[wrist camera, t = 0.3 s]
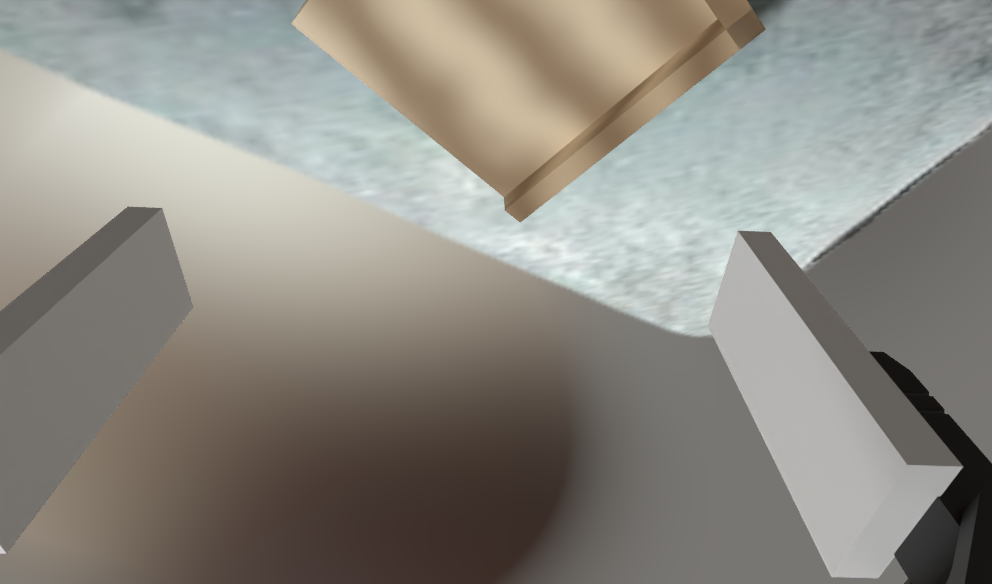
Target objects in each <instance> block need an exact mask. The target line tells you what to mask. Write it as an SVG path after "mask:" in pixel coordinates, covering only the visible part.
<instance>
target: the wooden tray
mask: <svg viewBox="0 0 992 584" xmlns="http://www.w3.org/2000/svg"><path fill="white" fill-rule="evenodd" d="M292 25H293V26H295V27H296V28H297V29H298V30H299V31H301V32H302V33H303V34H304V35H306V36H307V37H308V38H309V39H311V40H312V41H313V42H314V43H315V44H317V45H318V46H319V47H320V48H322V49H323V50H324V51H325V52H327V53H328V54H329V55H330V56H331V57H333V58H334V59H335V60H336V61H338V62H339V63H340V64H341V65H342V66H344V67H345V68H346V69H347V70H349V71H350V72H351V73H352V74H354V75H355V76H356V77H357V78H358V79H360V80H361V81H362V82H363V83H365V84H366V85H367V86H368V87H370V88H371V89H372V90H373V91H374V92H376V93H377V94H378V95H379V96H381V97H382V98H383V99H384V100H385V101H387V102H388V103H389V104H390V105H392V106H393V107H394V108H395V109H397V110H398V111H399V112H400V113H401V114H403V115H404V116H405V117H406V118H408V119H409V120H410V121H411V122H413V123H414V124H415V125H416V126H417V127H419V128H420V129H421V130H422V131H424V132H425V133H426V134H427V135H428V136H430V137H431V138H432V139H433V140H435V141H436V142H437V143H438V144H440V145H441V146H442V147H443V148H444V149H446V150H447V151H448V152H449V153H451V154H452V155H453V156H454V157H456V158H457V159H458V160H459V161H460V162H462V163H463V164H464V165H465V166H467V167H468V168H469V169H470V170H471V171H473V172H474V173H475V174H476V175H478V176H479V177H480V178H481V179H483V180H484V181H485V182H486V183H487V184H489V185H490V186H491V187H492V188H494V189H495V190H496V191H497V192H499V193H500V194H501V195H502V196H503V197H504V204H505V211H506V212H508V213H509V214H510V215H511V216H513V217H514V218H515V219H517V220H518V221H519V222H521V221H523V220H524V219H525V218H526V217H528V216H529V215H530V214H532V213H533V212H534V211H535V210H537V209H538V208H539V207H540V206H542V205H543V204H544V203H546V202H547V201H548V200H549V199H551V198H552V197H553V196H554V195H556V194H557V193H558V192H560V191H561V190H562V189H563V188H565V187H566V186H567V185H568V184H570V183H571V182H572V181H573V180H575V179H576V178H577V177H579V176H580V175H581V174H582V173H584V172H585V171H586V170H587V169H589V168H590V167H591V166H593V165H594V164H595V163H596V162H598V161H599V160H600V159H601V158H603V157H604V156H605V155H607V154H608V153H609V152H610V151H612V150H613V149H614V148H615V147H617V146H618V145H619V144H621V143H622V142H623V141H624V140H626V139H627V138H628V137H629V136H631V135H632V134H633V133H634V132H636V131H637V130H638V129H640V128H641V127H642V126H643V125H645V124H646V123H647V122H648V121H650V120H651V119H652V118H654V117H655V116H656V115H657V114H659V113H660V112H661V111H662V110H664V109H665V108H666V107H668V106H669V105H670V104H671V103H673V102H674V101H675V100H676V99H678V98H679V97H680V96H682V95H683V94H684V93H685V92H687V91H688V90H689V89H690V88H692V87H693V86H694V85H696V84H697V83H698V82H699V81H701V80H702V79H703V78H704V77H706V76H707V75H708V74H709V73H711V72H712V71H713V70H715V69H716V68H717V67H718V66H720V65H721V64H722V63H723V62H725V61H726V60H727V59H729V58H730V57H731V56H732V55H734V54H735V53H736V52H737V51H739V50H740V49H741V48H743V47H744V46H745V45H746V44H748V43H749V42H750V41H751V40H753V39H754V38H755V37H757V36H758V35H759V34H760V33H762V32H763V31H764V30H765V27H764V26H763V24H762V23H761V21H760V20H759V18H758V17H757V15H756V14H755V12H754V10H753V9H752V7H751V6H750V4H749V3H748V1H747V0H306V1H305V3H304V4H303V6H302V7H301V9H300V10H299V12H298V14H297V15H296V17H295V19H294V20H293V22H292Z"/></svg>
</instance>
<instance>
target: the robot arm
mask: <svg viewBox="0 0 992 584" xmlns="http://www.w3.org/2000/svg"><path fill="white" fill-rule="evenodd" d="M192 308H193V305H192V302H191V298H190V295H189V292H188V289H187V286H186V282H185V280H184V276H183V273H182V270H181V267H180V263H179V261H178V257H177V254H176V251H175V248H174V244H173V241H172V238H171V235H170V232H169V229H168V226H167V222H166V219H165V216H164V213H163V210H162V208H146V207H127V208H126V209H124V210H123V211H122V212H121V213H120V214H118V215H117V216H116V217H115V218H114V219H112V220H111V221H110V222H109V223H107V224H106V225H105V226H104V227H103V228H101V229H100V230H99V231H98V232H96V233H95V234H94V235H93V236H92V237H91V238H89V239H88V240H87V241H85V242H84V243H83V244H82V245H81V246H79V247H78V248H77V249H76V250H74V251H73V252H72V253H71V254H70V255H68V256H67V257H66V258H65V259H63V260H62V261H61V262H60V263H59V264H57V265H56V266H55V267H54V268H52V269H51V270H50V271H49V272H48V273H46V274H45V275H44V276H43V277H41V278H40V279H39V280H38V281H37V282H35V283H34V284H33V285H32V286H31V287H29V288H28V289H27V290H26V291H25V292H23V293H22V294H21V295H20V296H18V297H17V298H16V299H15V300H13V301H12V302H11V303H10V304H9V305H7V306H6V307H5V308H4V309H2V310H1V311H0V554H2V553H3V554H6V553H8V551H9V550H10V548H11V547H12V546H13V545H14V543H15V542H16V540H17V539H18V538H19V537H20V535H21V534H22V533H23V531H24V530H25V529H26V527H27V526H28V525H29V523H30V522H31V521H32V520H33V518H34V517H35V516H36V514H37V513H38V512H39V510H40V509H41V507H42V506H43V505H44V504H45V502H46V501H47V500H48V498H49V497H50V496H51V494H52V493H53V492H54V490H55V489H56V488H57V486H58V485H59V484H60V483H61V481H62V480H63V478H64V477H65V476H66V475H67V473H68V472H69V471H70V469H71V468H72V466H73V465H74V464H75V463H76V461H77V460H78V459H79V457H80V456H81V455H82V453H83V452H84V451H85V449H86V448H87V447H88V445H89V444H90V443H91V442H92V440H93V439H94V438H95V436H96V435H97V433H98V432H99V431H100V429H101V428H102V427H103V426H104V424H105V423H106V422H107V420H108V419H109V418H110V416H111V415H112V414H113V413H114V411H115V410H116V408H117V407H118V406H119V405H120V403H121V402H122V401H123V399H124V398H125V397H126V395H127V394H128V393H129V391H130V390H131V389H132V387H133V386H134V385H135V383H136V382H137V381H138V379H139V378H140V377H141V376H142V374H143V373H144V372H145V370H146V369H147V368H148V366H149V365H150V363H151V362H152V361H153V360H154V358H155V357H156V356H157V354H158V353H159V352H160V350H161V349H162V348H163V346H164V345H165V344H166V342H167V341H168V340H169V338H170V337H171V336H172V335H173V333H174V332H175V331H176V329H177V328H178V327H179V325H180V324H181V323H182V321H183V320H184V319H185V317H186V316H187V315H188V313H189V312H190V311H191V309H192ZM708 327H709V329H710V331H711V333H712V335H713V337H714V339H715V341H716V343H717V345H718V347H719V349H720V351H721V353H722V355H723V357H724V359H725V361H726V363H727V365H728V367H729V369H730V372H731V374H732V376H733V378H734V380H735V382H736V384H737V386H738V388H739V390H740V392H741V394H742V396H743V398H744V400H745V402H746V404H747V406H748V408H749V410H750V412H751V414H752V416H753V418H754V420H755V422H756V425H757V426H758V428H759V430H760V433H761V435H762V437H763V439H764V441H765V443H766V445H767V447H768V449H769V451H770V453H771V455H772V457H773V459H774V461H775V463H776V465H777V467H778V469H779V471H780V473H781V475H782V477H783V479H784V481H785V483H786V485H787V487H788V490H789V492H790V494H791V496H792V498H793V500H794V502H795V504H796V506H797V508H798V510H799V512H800V514H801V516H802V518H803V520H804V522H805V524H806V526H807V528H808V530H809V532H810V534H811V536H812V538H813V540H814V542H815V545H816V547H817V549H818V551H819V552H820V555H821V557H822V559H823V561H824V563H825V565H826V567H827V569H828V571H829V573H830V575H831V577H853V578H878V577H879V576H880V575H881V574H882V573H883V571H884V570H885V568H886V567H887V566H888V565H889V563H890V562H891V561H892V559H893V558H894V557H896V559H897V560H898V562H899V564H900V565H901V567H902V569H903V570H904V572H905V574H906V575H907V577H908V579H907V581H906V582H905V583H904V584H992V463H991V462H990V461H989V460H988V459H987V458H986V457H985V455H984V454H983V453H982V452H981V451H980V450H979V449H978V447H977V446H976V445H975V444H974V443H973V442H972V441H971V439H970V438H969V437H968V436H967V435H966V434H965V433H964V431H963V430H962V429H961V428H960V427H959V426H958V425H957V423H956V422H955V421H954V420H953V419H952V418H951V417H950V416H949V414H945V413H944V409H943V407H942V406H941V405H940V404H939V403H938V402H937V401H936V399H935V398H934V397H933V396H929V392H928V390H927V389H926V388H925V387H924V386H923V385H922V383H920V381H919V380H918V379H917V378H916V377H915V375H914V374H913V373H912V372H911V371H910V370H909V369H907V368H906V367H904V366H903V365H901V364H900V363H898V362H897V361H895V360H894V359H893V358H891V357H890V356H888V355H887V354H886V353H884V352H869V351H868V350H867V349H866V348H865V346H864V345H863V344H862V343H861V341H860V340H859V339H858V338H857V337H856V335H855V334H854V333H853V332H852V330H851V329H850V328H849V327H848V326H847V324H846V323H845V322H844V321H843V320H842V318H841V317H840V316H839V315H838V314H837V312H836V311H835V310H834V309H833V307H832V306H831V305H830V304H829V303H828V301H827V300H826V299H825V298H824V296H823V295H822V294H821V293H820V292H819V290H818V289H817V288H816V287H815V285H814V284H813V283H812V282H811V281H810V279H809V278H808V277H807V276H806V274H805V273H804V272H803V271H802V270H801V268H800V267H799V266H798V265H797V263H796V262H795V261H794V260H793V259H792V257H791V256H790V255H789V254H788V253H787V251H786V250H785V249H784V248H783V246H782V245H781V244H780V243H779V242H778V240H777V239H776V238H775V237H774V235H773V234H772V233H771V232H755V231H738V232H737V235H736V238H735V241H734V244H733V248H732V251H731V254H730V257H729V260H728V264H727V267H726V270H725V273H724V276H723V279H722V283H721V286H720V289H719V292H718V295H717V299H716V302H715V305H714V308H713V311H712V314H711V318H710V321H709V324H708Z"/></svg>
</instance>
